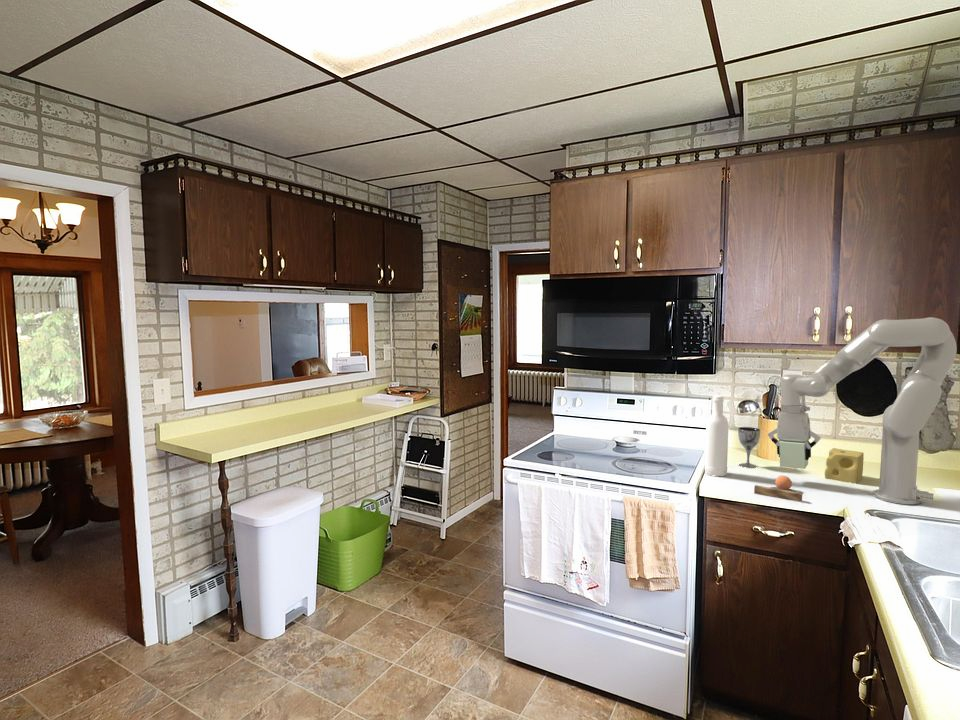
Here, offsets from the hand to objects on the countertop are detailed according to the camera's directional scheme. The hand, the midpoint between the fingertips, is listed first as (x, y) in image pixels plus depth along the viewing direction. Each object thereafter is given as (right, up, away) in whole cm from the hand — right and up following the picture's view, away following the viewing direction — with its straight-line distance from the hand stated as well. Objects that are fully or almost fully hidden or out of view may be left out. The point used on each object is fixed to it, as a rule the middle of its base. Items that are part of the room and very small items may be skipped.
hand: (793, 457), depth 198 cm
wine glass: (-5, -8, +23) cm, 25 cm away
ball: (-8, -8, -7) cm, 13 cm away
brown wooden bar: (-13, -11, -14) cm, 22 cm away
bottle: (-23, -9, +13) cm, 27 cm away
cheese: (+22, -9, +6) cm, 25 cm away
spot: (-9, -10, -8) cm, 16 cm away
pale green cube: (0, -3, 0) cm, 3 cm away
